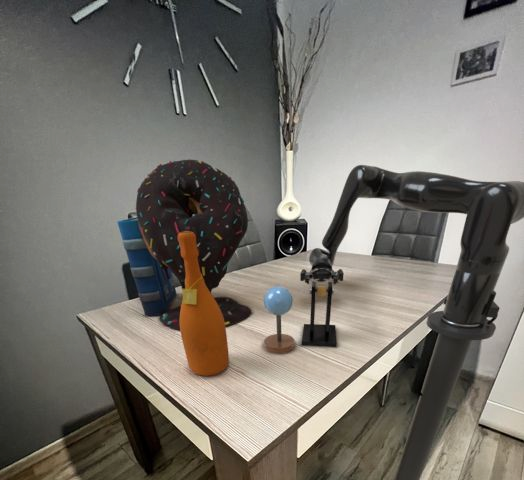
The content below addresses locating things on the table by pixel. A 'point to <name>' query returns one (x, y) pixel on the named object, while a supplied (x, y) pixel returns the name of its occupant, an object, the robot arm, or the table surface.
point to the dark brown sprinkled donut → (193, 225)
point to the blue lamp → (278, 319)
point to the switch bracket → (319, 332)
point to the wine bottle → (200, 316)
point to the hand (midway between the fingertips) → (321, 281)
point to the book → (146, 271)
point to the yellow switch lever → (321, 290)
